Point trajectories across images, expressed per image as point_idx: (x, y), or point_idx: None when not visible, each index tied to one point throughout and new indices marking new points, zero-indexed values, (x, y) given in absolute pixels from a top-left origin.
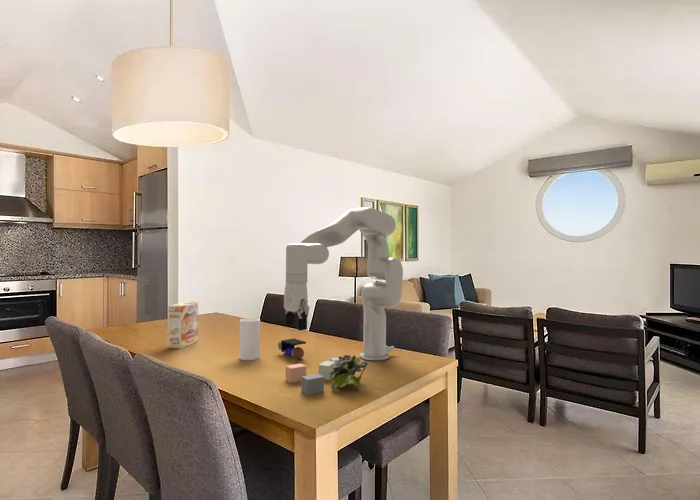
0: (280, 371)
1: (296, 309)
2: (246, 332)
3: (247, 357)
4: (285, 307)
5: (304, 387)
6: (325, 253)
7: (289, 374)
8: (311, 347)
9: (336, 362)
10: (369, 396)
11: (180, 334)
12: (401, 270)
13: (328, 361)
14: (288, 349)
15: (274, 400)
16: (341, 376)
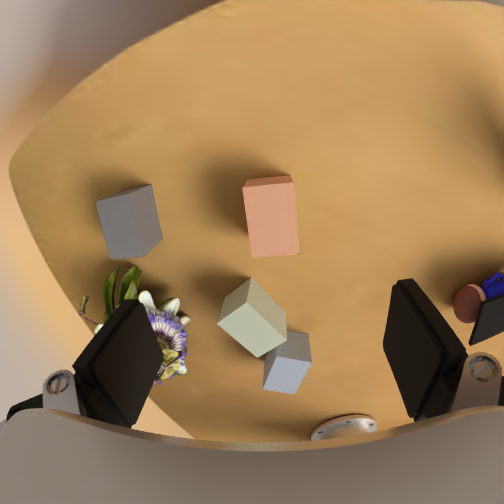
0: (390, 196)
1: (5, 431)
2: None
3: None
4: (452, 460)
5: (126, 191)
6: None
7: (255, 181)
8: (494, 348)
9: (273, 360)
10: (91, 313)
11: None
12: None
13: (273, 343)
14: (502, 289)
15: (117, 97)
16: (112, 304)
